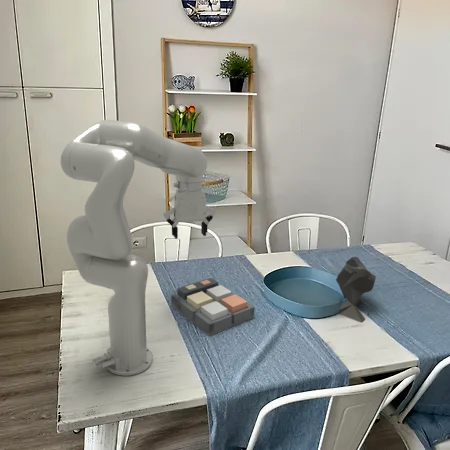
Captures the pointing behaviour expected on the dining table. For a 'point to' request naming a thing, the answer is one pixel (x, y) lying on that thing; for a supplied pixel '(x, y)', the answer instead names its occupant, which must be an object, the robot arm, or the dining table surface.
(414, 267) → the dining table surface
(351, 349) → the dining table surface
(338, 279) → the dark faceted sculpture
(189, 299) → the key sand
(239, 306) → the key terracotta
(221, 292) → the key grey back
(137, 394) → the dining table surface
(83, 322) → the dining table surface
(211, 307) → the key grey front
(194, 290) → the keypad
